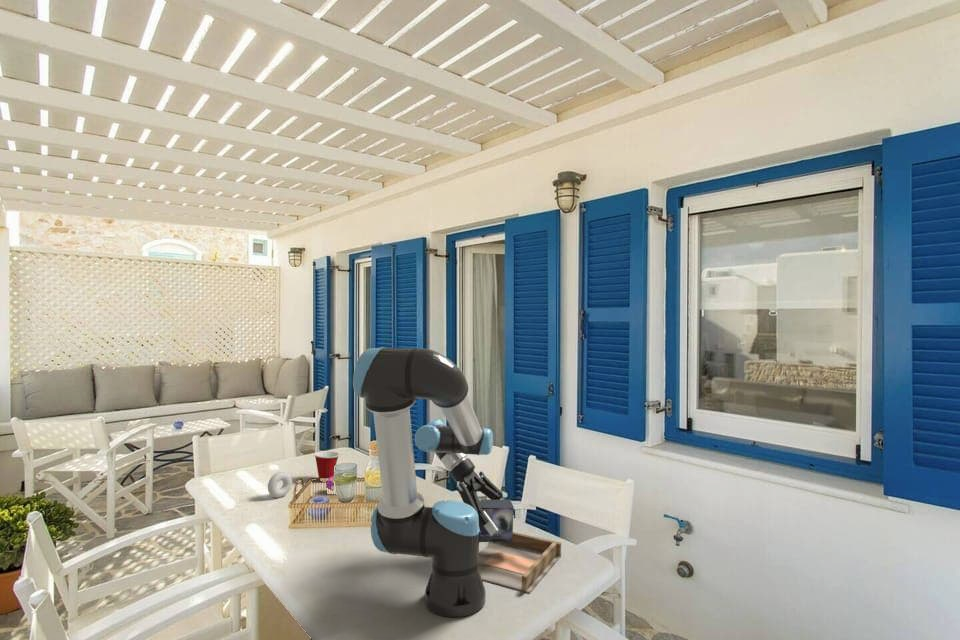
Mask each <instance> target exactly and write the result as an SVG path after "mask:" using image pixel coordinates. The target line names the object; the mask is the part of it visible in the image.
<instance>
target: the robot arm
mask: <svg viewBox="0 0 960 640" xmlns="http://www.w3.org/2000/svg"><path fill="white" fill-rule="evenodd" d="M352 386H353V391H354V394H355V396H357V397H359V398H362V399H363V398H364V402H365V408H366V409H367V410H368V411H369V412H371V413H372V414H373V421H374V431H375V440H376V448H377V456H378V457H377V458H378V459H377V460H378V466H379V467H378V468H379V475H380V483H381V492H382V498H381V499H380V500H379V501H378V504H377V505H376V506H375V508H374V509H373V513H372V515H371V526H370V536H371V540H372V543H373V545H374V546H375V548H376V549H377V550H379V551H380V552H383V553H388V554H391V555H403V556H405V555H406V556H415V557H423V558H431V561H432V563H431V572H430V574H429V578H428V581H427V584H426V588H425V590H424V604H425V606H426V608H427V609H428V610H429V611H430V612H431V613H433V614H436V615H438V616H440V617H447V618H461V617H467V616H470V615H473V614H475V613H478V612H479V611H480V610H482V608H483V607H484V606H485V604H486V588H485V586H484V582H483V580H482V578H481V574H480V571H479V552H480V542H479V532H480V528H479V520H480V522H481V523H482V525H484V527H485V528H486V530H487V531H488V532H489V534H490V535H491V536H492V535H493V534H494V533H495V532H497V531H498V529H497V527H496V526H495V524H494V523H493V522H492V520H491V519H490V517H489V516H488V515H487V513H486V512H485V511H483V512H482V508H481V505H480V502H479V500H480V499H479V496H478V492H480V493H481V494H483V495H484V496H485V497H487V498H488V499H489V500H503V499H502V498H504V494H503V492H502V491H501V490H500V489H499V488H498V487H497V486H496V484H494V483H493V482H492V481H491V480H490V479H489V478H488V477H487V476H486V475H485V474H484V472H483V471H479V472H478V473H477V472H475V469H476V466H475V464H474V462H472V460H471V459H470V458H468V455H475V456H481V455H482V456H487V455H490V454H491V453H492V450H493V445H494V433H493V431H492V429H491V428H485V427H481V425H480V422H479V420H478V418H477V415H476V412H475V410H474V408H473V405H472V403H471V400H470V397H469V395H468V393H469V384H468V381H467V379H466V376H465V374H464V373H463V372H462V370H461V369H460V368H459V366H457V365H456V364H455V362H453V361H452V360H451V359H450V358H448V357H447V356H445V355H444V354H443V353H440V352H437V351H436V350H432V349H428V348H423V347H421V348H410V347H409V348H402V347H401V348H400V347H396V348H395V347H385V346H382V347H378V348H377V347H376V348H375V347H374V348H371V347H370V348H367V349H366V350H364V351H363V352H362V353H361V354H360V355H359V357H358V359H357V361H356V364H355V366H354V371H353V375H352ZM416 400H428V401H431V402H432V404H434V405H435V406H436V407H438V408H440V410H441V412H442V413H443V415H444V417H445V419H446V421H447V423H448V424H449V426H447V425H445V423H443V422H442V420H441V419H434V420H432V421H431V422H429V423H428V424H426V425H422V426H421V427H419V428H417V430H416V432H415V435H414V442H413V433H412V432H413V431H412V421H411V420H412V419H411V413H410V412H411V411H410V410H411V408H412V407H413V405H415V403H416ZM414 443H415V445H416V447H417V448H418V450H421V451H422V452H425V453H434V454H435V455H436V456H437V458H438V459H439V460H440V462H441V463H442V464H443V466H444V468H445V469H446V470H447V472H449V475H450V476H451V478H452V479H453V480H454V482H455V483H458V482H459V484H457V486H455V489H456V491H457V493H458V494H459V496H460V497H461V499H462V501H458V500H454V499H453V500H452V499H448V500H439V501H437V502H434V504H433V506H432V507H431V506H425V499H424V496H423V494H422V493H420V492H418V486H417V477H416V465H415V456H414V455H415V452H414ZM513 518H515V516H514V515H513Z"/></svg>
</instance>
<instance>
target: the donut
mask: <svg viewBox="0 0 960 640" xmlns="http://www.w3.org/2000/svg"><path fill="white" fill-rule="evenodd" d="M281 481H282V486H281V487H280V488H278V483H279V482H281ZM292 487H293V478H292V477H291V475H290V474H289V473H288V472H286V471H279V472H276V473H274V474H273V475H272V476H271V477H270V479H269V481H268V483H267V491H268V493H269V496H271V497H273V498H278V499H279V498H282V497H284V496H286V495H287V494H288V493H289V492H290V491H291V489H292Z"/></svg>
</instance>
